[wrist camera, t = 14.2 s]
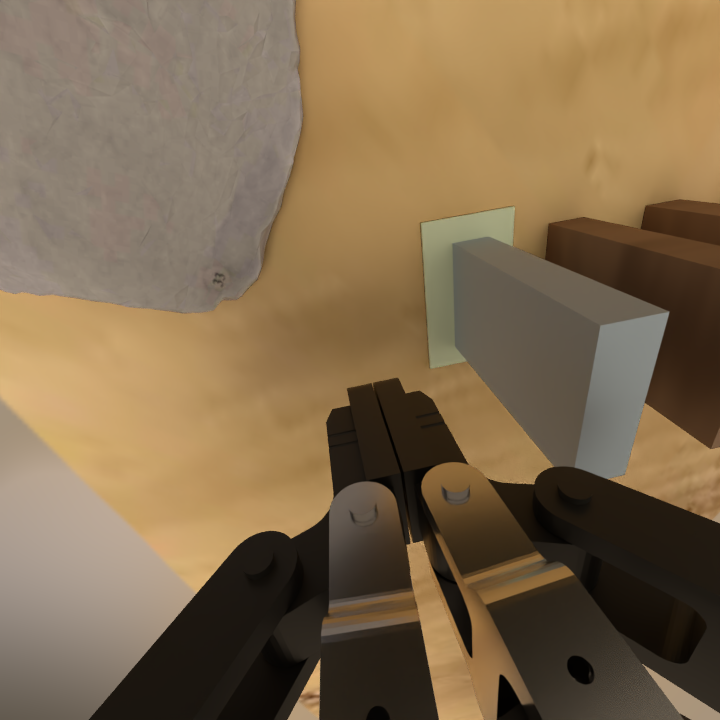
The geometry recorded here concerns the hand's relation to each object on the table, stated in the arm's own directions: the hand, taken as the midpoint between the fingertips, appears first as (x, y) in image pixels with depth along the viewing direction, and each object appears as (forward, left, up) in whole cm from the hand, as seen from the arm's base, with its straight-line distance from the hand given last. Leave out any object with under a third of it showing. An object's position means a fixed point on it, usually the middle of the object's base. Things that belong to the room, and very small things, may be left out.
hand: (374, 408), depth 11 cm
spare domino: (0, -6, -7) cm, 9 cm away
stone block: (+8, +5, -8) cm, 12 cm away
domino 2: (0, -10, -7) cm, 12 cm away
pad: (0, -6, -7) cm, 9 cm away
